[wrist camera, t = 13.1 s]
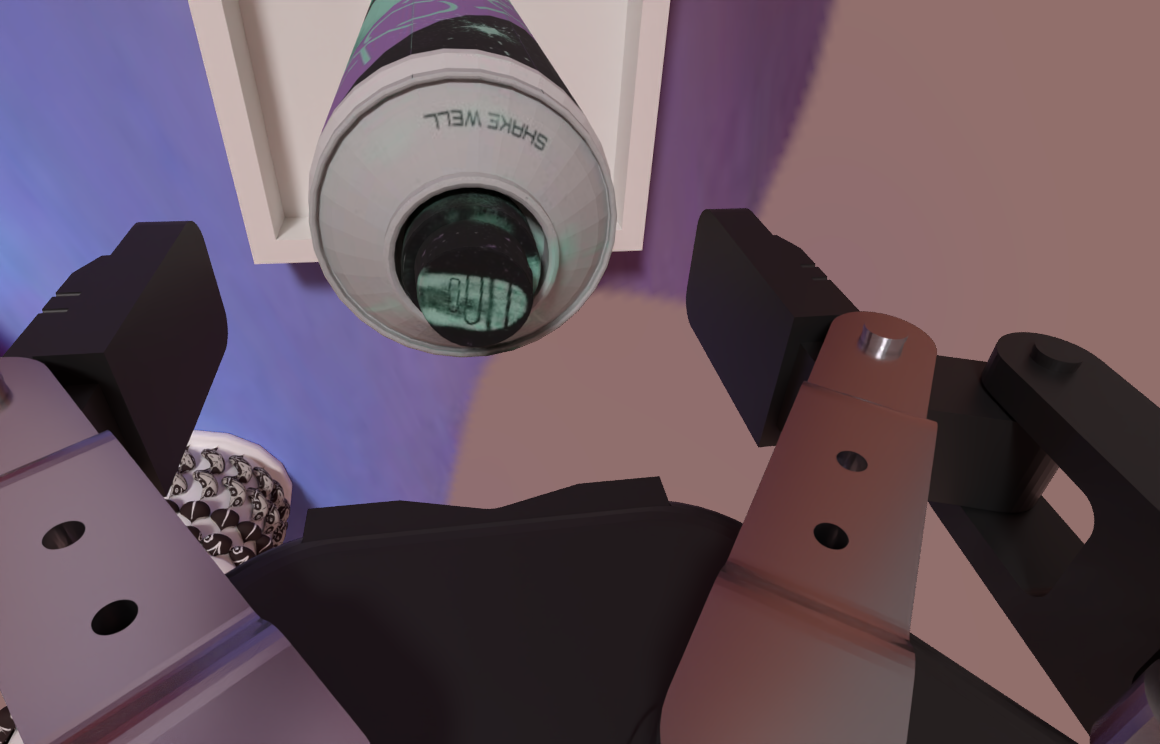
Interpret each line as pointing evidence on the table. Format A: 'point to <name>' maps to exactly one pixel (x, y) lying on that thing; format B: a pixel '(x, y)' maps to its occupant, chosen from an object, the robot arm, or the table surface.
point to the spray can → (458, 182)
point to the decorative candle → (221, 507)
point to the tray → (317, 63)
